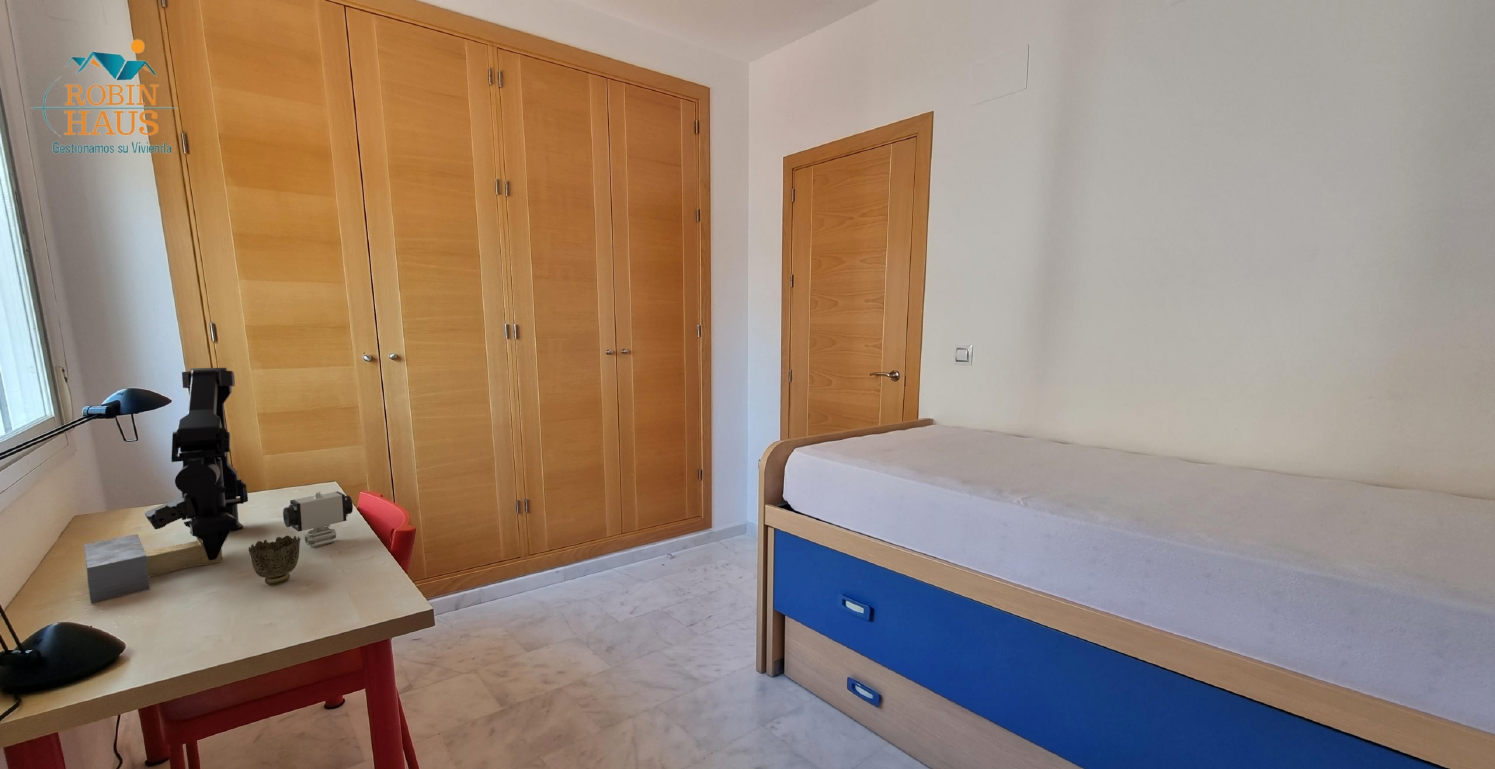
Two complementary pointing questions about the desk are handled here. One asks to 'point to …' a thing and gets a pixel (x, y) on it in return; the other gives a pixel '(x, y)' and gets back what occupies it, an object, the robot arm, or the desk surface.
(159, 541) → the desk surface
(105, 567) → the gray rectangular block
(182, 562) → the wooden bar
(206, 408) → the robot arm
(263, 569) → the cup
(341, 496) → the pneumatic valve
